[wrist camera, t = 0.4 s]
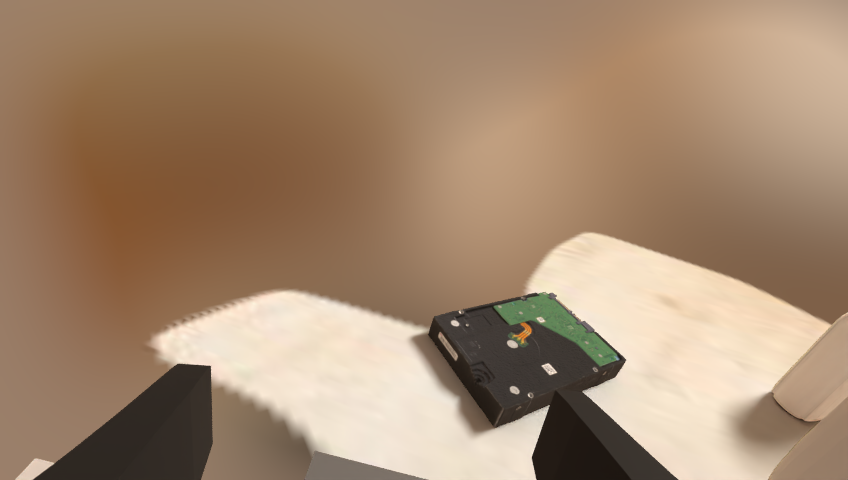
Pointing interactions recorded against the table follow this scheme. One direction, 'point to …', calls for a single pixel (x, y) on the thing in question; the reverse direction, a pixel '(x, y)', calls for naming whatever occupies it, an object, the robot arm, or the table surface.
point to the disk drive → (522, 353)
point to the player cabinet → (349, 470)
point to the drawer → (34, 469)
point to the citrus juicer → (819, 451)
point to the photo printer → (817, 376)
